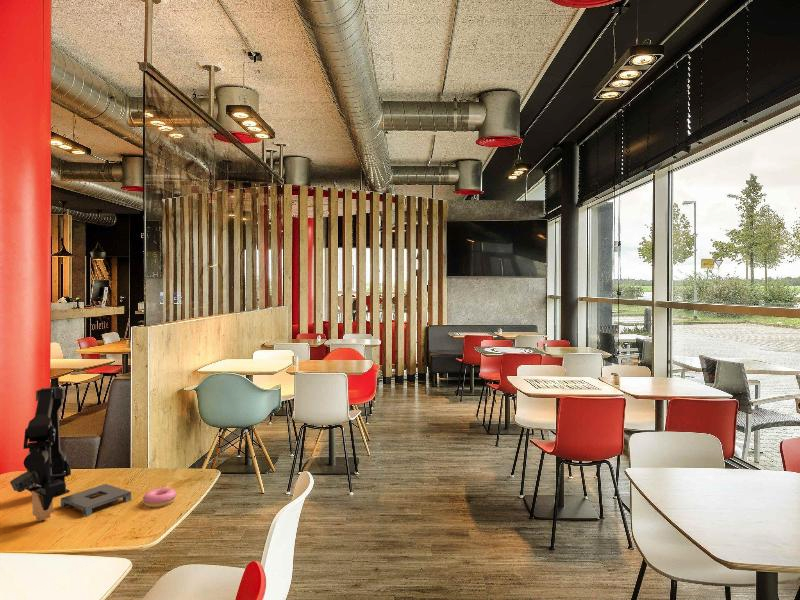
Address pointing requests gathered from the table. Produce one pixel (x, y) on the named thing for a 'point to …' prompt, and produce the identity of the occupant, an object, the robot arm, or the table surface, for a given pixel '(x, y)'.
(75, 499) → the slotted plate
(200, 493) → the table surface
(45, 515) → the square wooden peg
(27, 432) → the robot arm
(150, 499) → the doughnut
